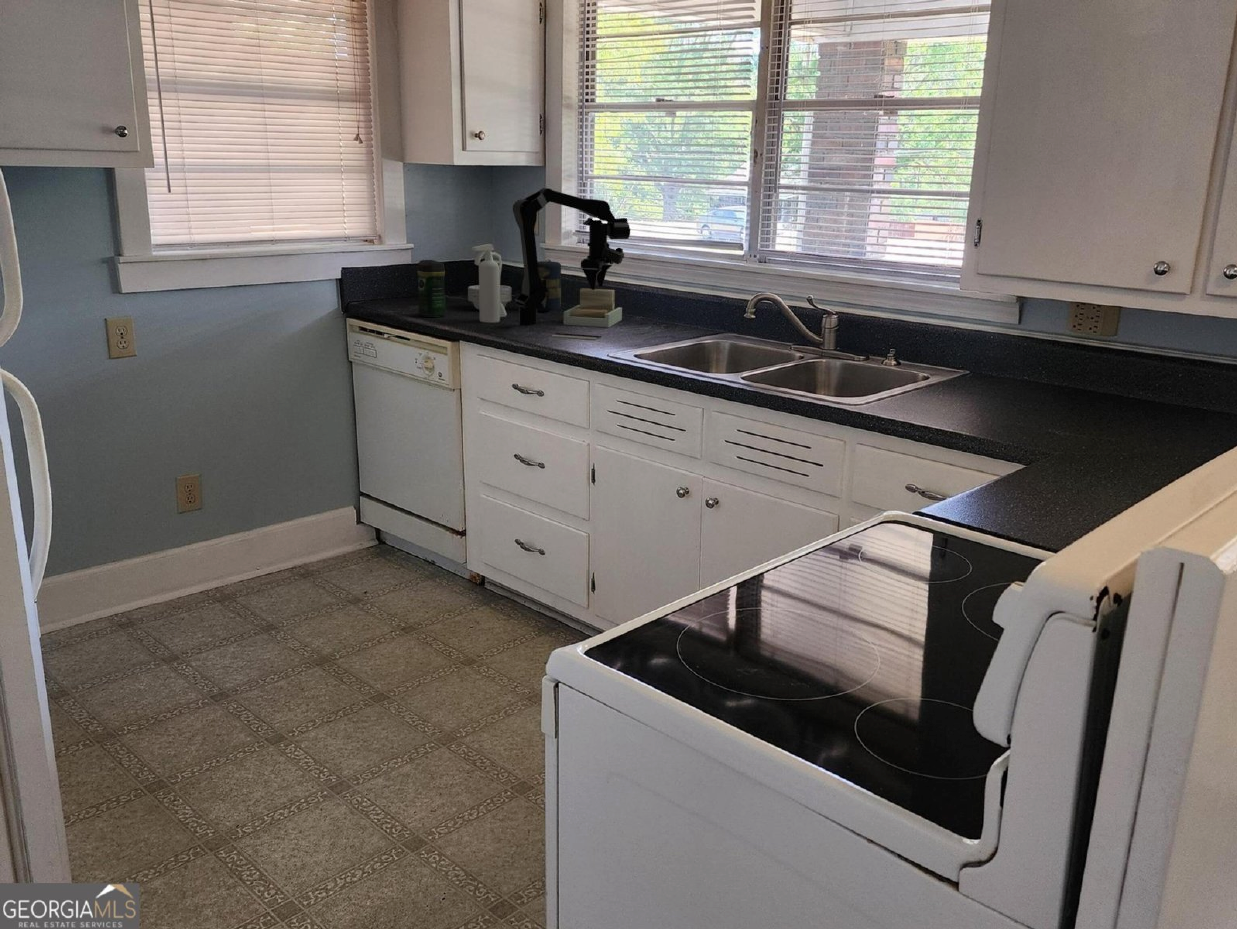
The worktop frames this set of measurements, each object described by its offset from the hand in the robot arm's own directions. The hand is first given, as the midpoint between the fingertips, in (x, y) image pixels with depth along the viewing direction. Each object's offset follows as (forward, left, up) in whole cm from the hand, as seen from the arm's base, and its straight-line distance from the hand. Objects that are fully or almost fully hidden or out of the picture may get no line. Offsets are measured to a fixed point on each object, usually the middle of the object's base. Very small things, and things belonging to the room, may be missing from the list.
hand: (597, 288), depth 347 cm
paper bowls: (+14, +43, -12) cm, 47 cm away
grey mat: (-24, -2, -12) cm, 26 cm away
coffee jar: (-8, +55, -12) cm, 57 cm away
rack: (-4, 0, -12) cm, 12 cm away
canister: (+18, +23, -12) cm, 32 cm away
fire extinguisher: (-10, +33, -12) cm, 37 cm away
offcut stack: (-9, 0, -11) cm, 14 cm away
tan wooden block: (0, 0, -11) cm, 11 cm away
